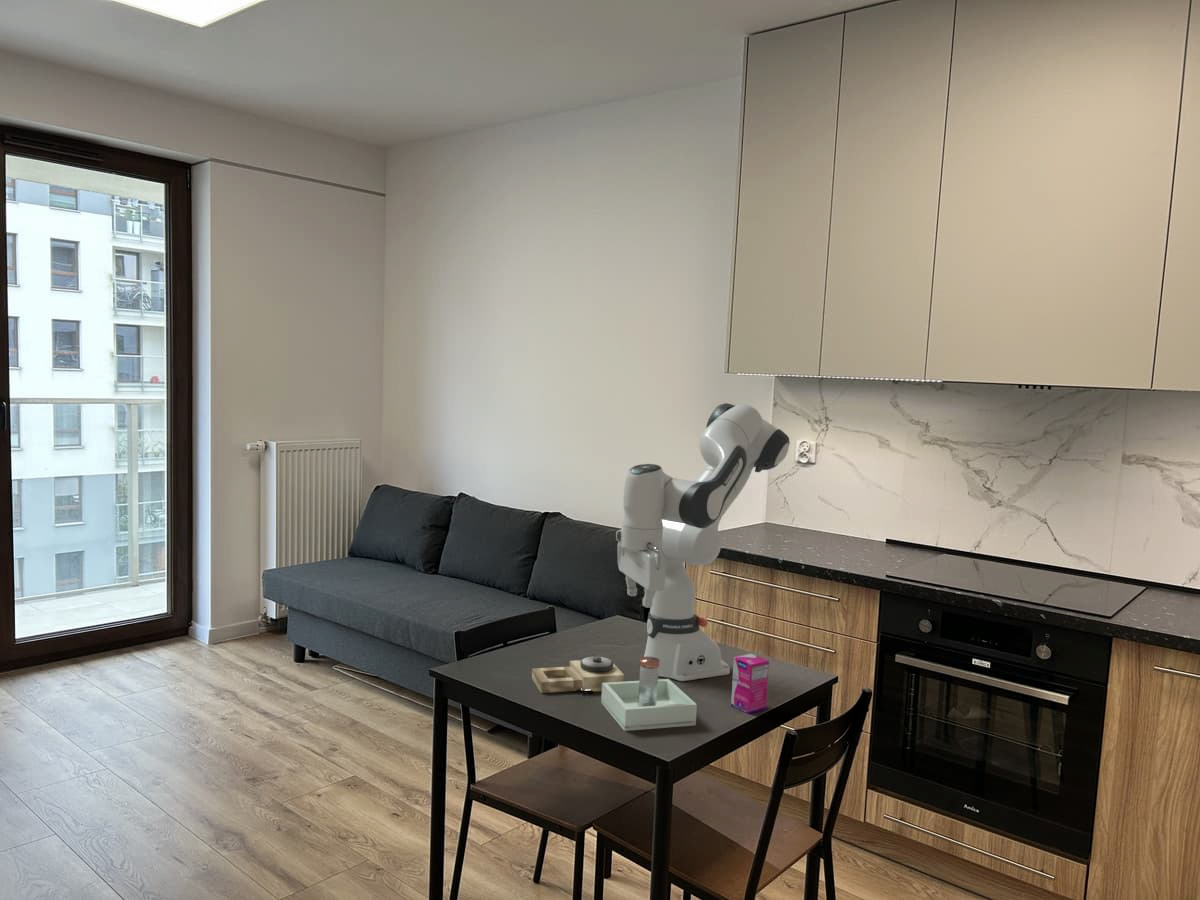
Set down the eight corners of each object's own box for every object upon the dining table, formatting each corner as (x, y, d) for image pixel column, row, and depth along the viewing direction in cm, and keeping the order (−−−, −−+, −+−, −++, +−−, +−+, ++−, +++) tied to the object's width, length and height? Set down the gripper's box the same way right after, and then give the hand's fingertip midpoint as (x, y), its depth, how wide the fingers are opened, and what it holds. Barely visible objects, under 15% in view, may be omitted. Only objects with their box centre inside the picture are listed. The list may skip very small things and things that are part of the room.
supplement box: (729, 706, 197) (732, 656, 196) (748, 701, 200) (751, 652, 200) (748, 714, 192) (751, 664, 191) (767, 709, 196) (770, 660, 195)
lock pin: (652, 704, 193) (655, 656, 192) (659, 711, 189) (662, 662, 188) (634, 705, 191) (637, 657, 190) (641, 713, 187) (644, 663, 186)
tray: (667, 698, 200) (668, 678, 200) (695, 725, 185) (696, 704, 185) (601, 702, 195) (602, 683, 195) (624, 730, 180) (625, 709, 180)
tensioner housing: (608, 672, 216) (609, 649, 215) (623, 689, 204) (625, 664, 204) (530, 677, 210) (531, 653, 209) (542, 694, 198) (543, 669, 198)
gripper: (674, 548, 181) (671, 613, 183) (639, 530, 201) (636, 589, 202) (645, 549, 179) (642, 614, 181) (613, 530, 199) (611, 590, 200)
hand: (639, 601), depth 192 cm, fingers open, 8 cm apart
